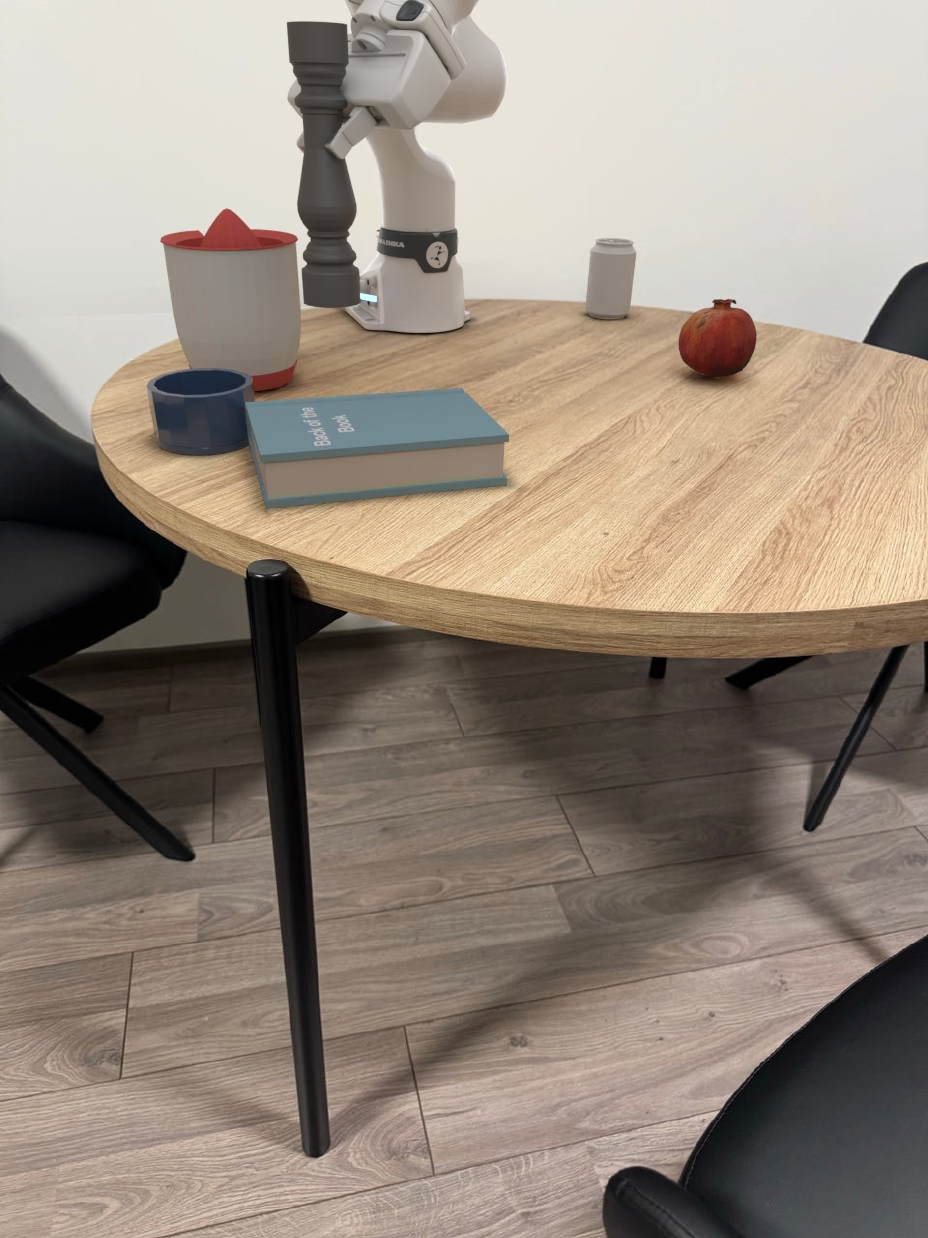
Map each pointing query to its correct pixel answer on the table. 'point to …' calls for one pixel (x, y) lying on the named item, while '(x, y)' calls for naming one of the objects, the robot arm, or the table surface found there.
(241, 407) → the socket cup
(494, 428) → the book
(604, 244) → the can
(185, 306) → the citrus juicer
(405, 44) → the robot arm
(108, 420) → the table surface
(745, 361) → the fruit
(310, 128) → the candle holder
